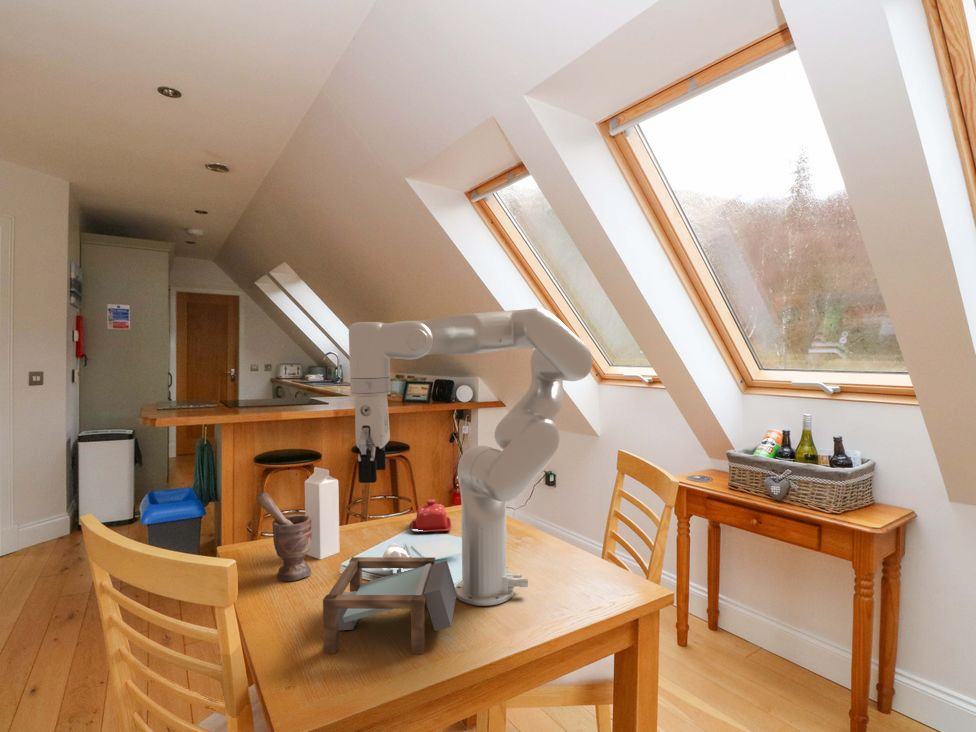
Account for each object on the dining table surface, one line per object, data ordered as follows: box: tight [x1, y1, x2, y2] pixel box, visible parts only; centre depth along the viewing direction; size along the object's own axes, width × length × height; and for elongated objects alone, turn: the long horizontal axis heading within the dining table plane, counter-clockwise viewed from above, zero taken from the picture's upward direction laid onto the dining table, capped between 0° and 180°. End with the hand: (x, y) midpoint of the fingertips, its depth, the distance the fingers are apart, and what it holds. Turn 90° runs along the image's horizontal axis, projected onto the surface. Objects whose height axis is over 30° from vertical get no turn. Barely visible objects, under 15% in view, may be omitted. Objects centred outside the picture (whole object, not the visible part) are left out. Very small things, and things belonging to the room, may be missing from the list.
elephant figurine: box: [382, 543, 414, 557], centre depth 131 cm, size 7×8×6 cm
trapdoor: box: [343, 560, 457, 632], centre depth 105 cm, size 18×15×7 cm
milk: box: [304, 466, 340, 560], centre depth 142 cm, size 6×6×22 cm
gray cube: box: [338, 591, 359, 632], centre depth 106 cm, size 5×5×5 cm
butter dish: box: [410, 498, 452, 533], centre depth 161 cm, size 12×12×8 cm
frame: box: [322, 556, 436, 655], centre depth 105 cm, size 17×19×10 cm
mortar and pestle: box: [256, 491, 312, 582], centre depth 128 cm, size 12×9×20 cm
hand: (372, 475), depth 106 cm, fingers open, 9 cm apart
